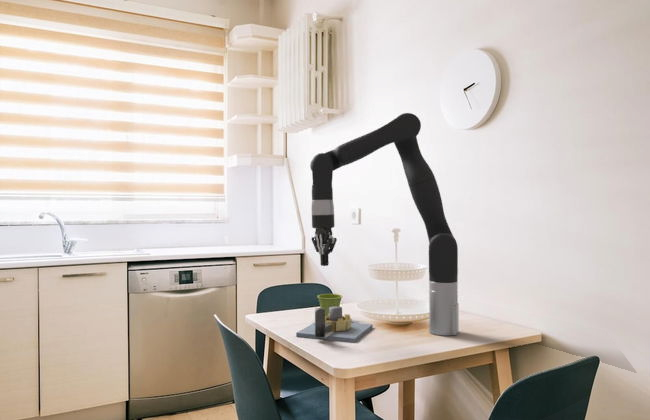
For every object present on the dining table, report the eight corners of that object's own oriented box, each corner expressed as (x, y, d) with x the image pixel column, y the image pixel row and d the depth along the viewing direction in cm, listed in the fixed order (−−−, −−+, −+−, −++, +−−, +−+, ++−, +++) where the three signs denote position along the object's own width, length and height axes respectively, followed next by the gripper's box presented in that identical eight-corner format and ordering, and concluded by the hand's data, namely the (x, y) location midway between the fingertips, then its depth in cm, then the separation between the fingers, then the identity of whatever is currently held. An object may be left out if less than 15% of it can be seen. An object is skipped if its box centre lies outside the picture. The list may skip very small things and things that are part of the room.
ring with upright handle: (328, 323, 171) (328, 298, 171) (355, 325, 167) (354, 300, 167) (303, 335, 154) (303, 308, 154) (332, 338, 150) (332, 311, 150)
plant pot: (342, 321, 180) (342, 298, 180) (317, 321, 180) (316, 298, 180) (342, 316, 189) (342, 293, 189) (317, 316, 189) (317, 293, 189)
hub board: (372, 327, 170) (372, 304, 170) (352, 344, 149) (352, 317, 149) (319, 323, 177) (319, 300, 177) (293, 337, 157) (293, 312, 157)
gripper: (343, 213, 159) (344, 266, 159) (322, 213, 170) (323, 263, 170) (323, 213, 155) (325, 268, 155) (303, 214, 166) (305, 265, 166)
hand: (324, 265), depth 163 cm, fingers closed
